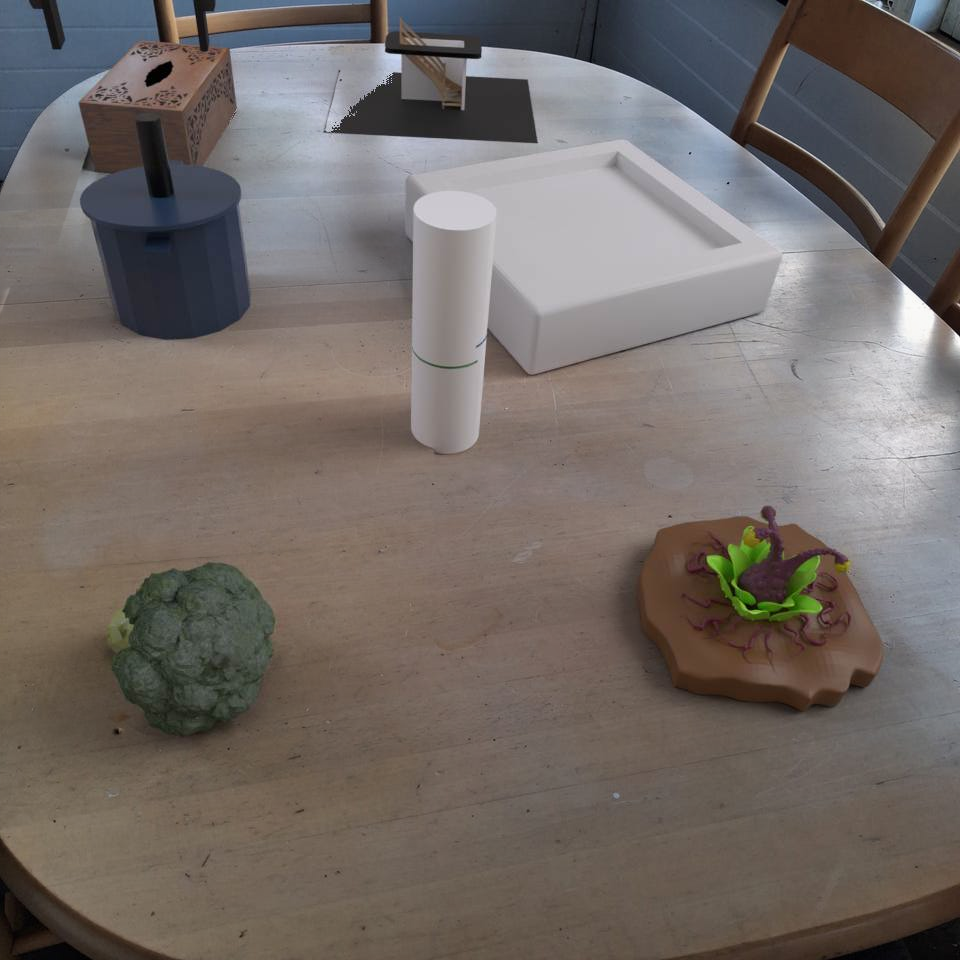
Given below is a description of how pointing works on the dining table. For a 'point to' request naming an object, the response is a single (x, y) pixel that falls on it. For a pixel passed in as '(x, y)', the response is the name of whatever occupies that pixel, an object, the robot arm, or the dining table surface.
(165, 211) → the lid
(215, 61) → the tissue box cover
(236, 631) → the vegetable
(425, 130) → the architectural model
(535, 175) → the tray
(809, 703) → the plant
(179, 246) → the pot
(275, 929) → the dining table surface
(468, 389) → the cylindrical container
